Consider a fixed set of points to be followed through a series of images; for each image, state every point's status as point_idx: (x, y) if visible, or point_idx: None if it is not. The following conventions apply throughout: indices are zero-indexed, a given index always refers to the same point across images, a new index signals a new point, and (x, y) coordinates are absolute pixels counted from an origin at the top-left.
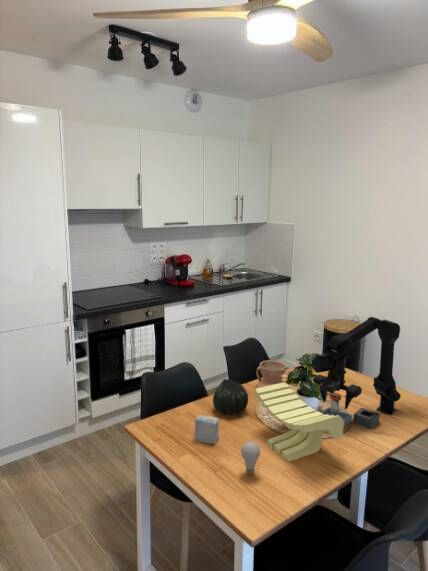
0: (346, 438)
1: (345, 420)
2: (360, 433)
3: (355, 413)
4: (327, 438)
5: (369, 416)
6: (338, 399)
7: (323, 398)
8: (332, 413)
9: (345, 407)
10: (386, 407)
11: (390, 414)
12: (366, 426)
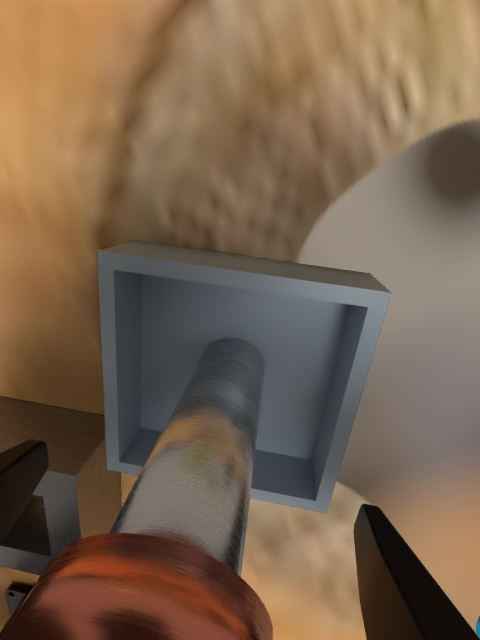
0: (39, 155)
1: (104, 360)
2: (11, 306)
3: (67, 486)
4: (163, 16)
5: (33, 513)
6: (36, 583)
7: (401, 566)
8: (224, 381)
9: (3, 457)
10: (2, 632)
11: (11, 585)
12: (17, 406)
